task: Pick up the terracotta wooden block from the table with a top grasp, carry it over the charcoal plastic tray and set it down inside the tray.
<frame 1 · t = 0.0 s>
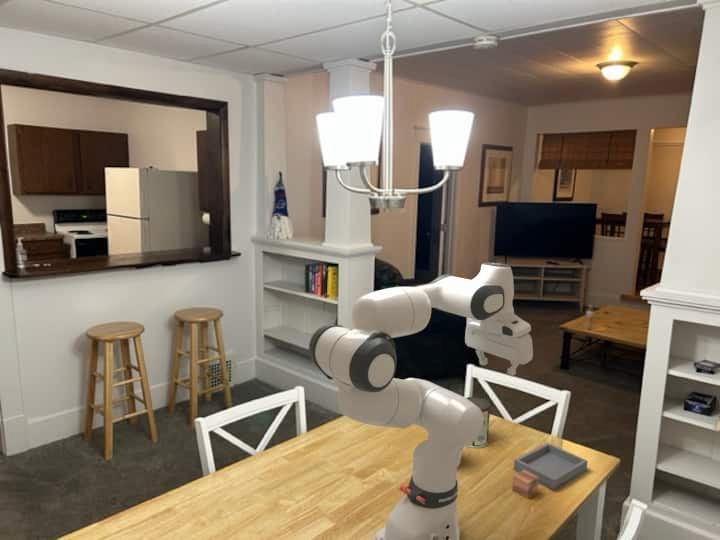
hand: (497, 369, 142), 39 cm above the table, tool pointing down, fingers open, 8 cm apart
coffee can: (473, 441, 181), on the table
foam cup: (449, 463, 167), on the table
tray: (550, 470, 163), on the table
block: (524, 491, 152), on the table
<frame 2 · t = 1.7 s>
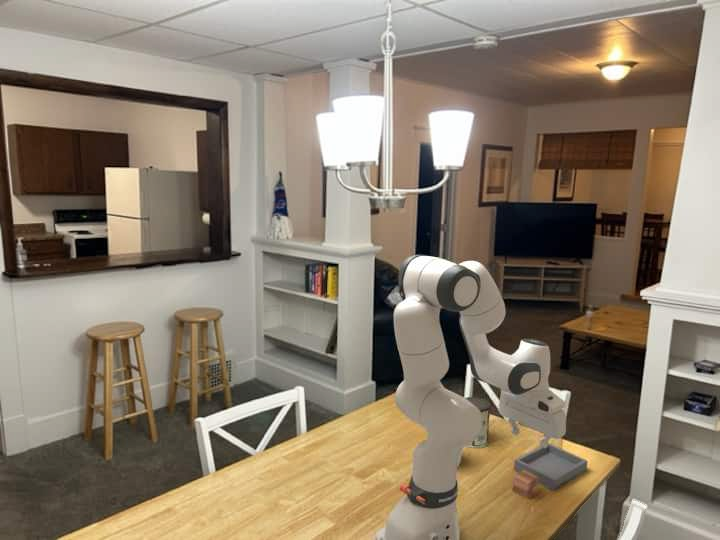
hand: (529, 440, 149), 16 cm above the table, tool pointing down, fingers open, 8 cm apart
nothing on the table moved.
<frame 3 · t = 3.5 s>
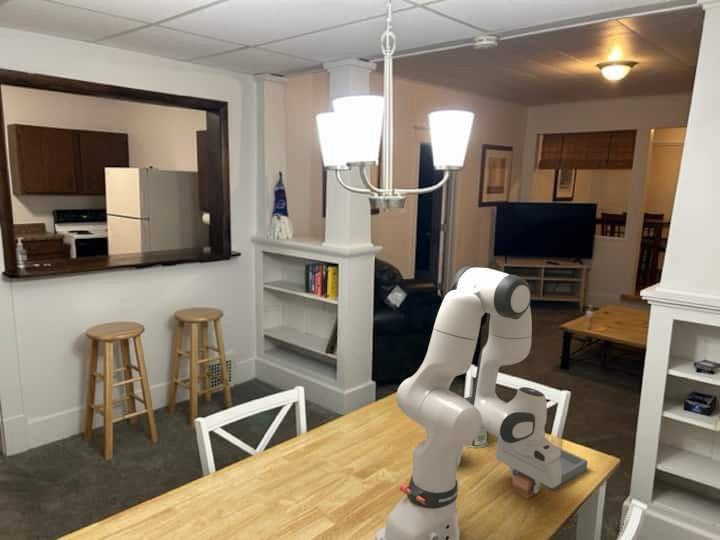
hand: (525, 486, 151), 2 cm above the table, tool pointing down, fingers closed on block, 5 cm apart
block: (524, 491, 152), on the table, touching gripper
everything else where it was.
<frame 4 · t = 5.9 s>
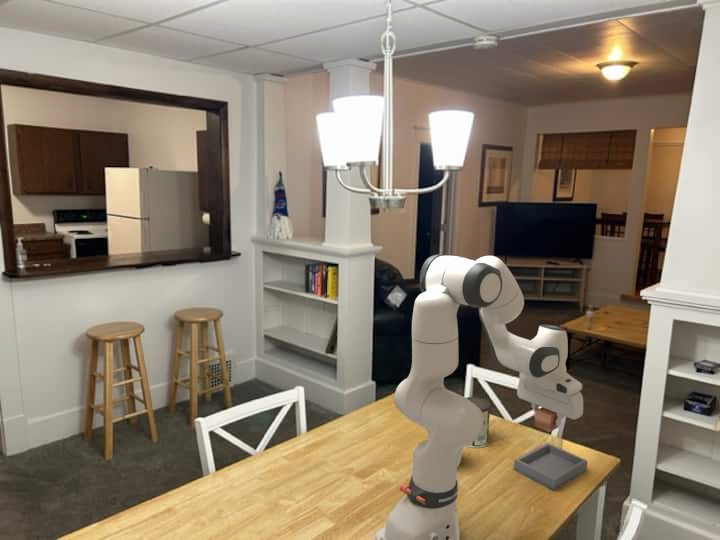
hand: (547, 421, 156), 18 cm above the table, tool pointing down, fingers closed on block, 5 cm apart
block: (547, 426, 156), point 17 cm above the table, touching gripper
everything else where it was.
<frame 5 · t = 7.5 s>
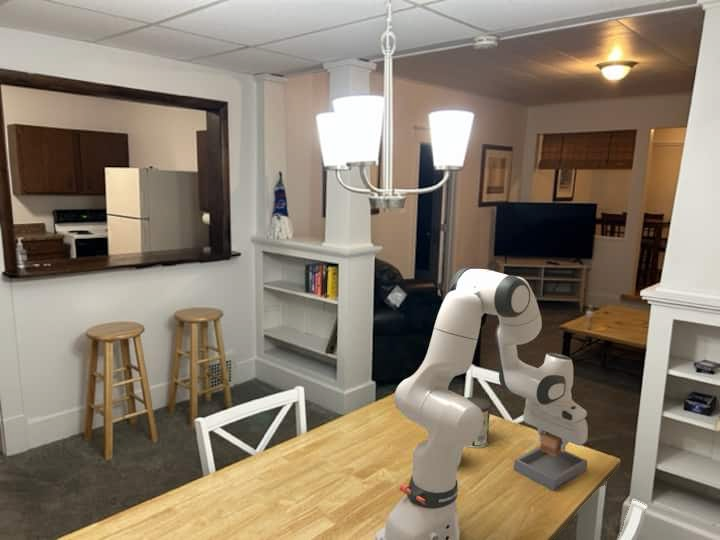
hand: (552, 446, 161), 8 cm above the table, tool pointing down, fingers closed on block, 5 cm apart
block: (551, 450, 162), point 7 cm above the table, touching gripper
everything else where it was.
when the fingers open (5 cm above the table, at t = 8.6 s): block drops 2 cm, resting on tray.
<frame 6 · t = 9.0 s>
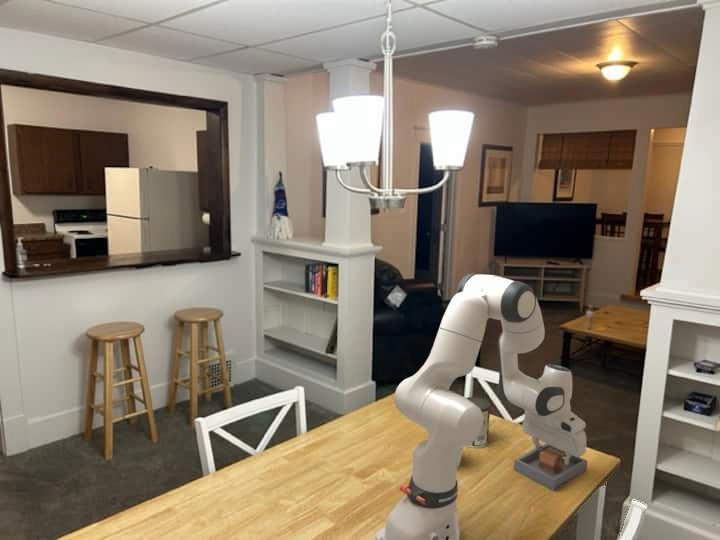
hand: (551, 457, 162), 5 cm above the table, tool pointing down, fingers open, 8 cm apart
block: (550, 467, 163), point 1 cm above the table, touching tray
everything else where it was.
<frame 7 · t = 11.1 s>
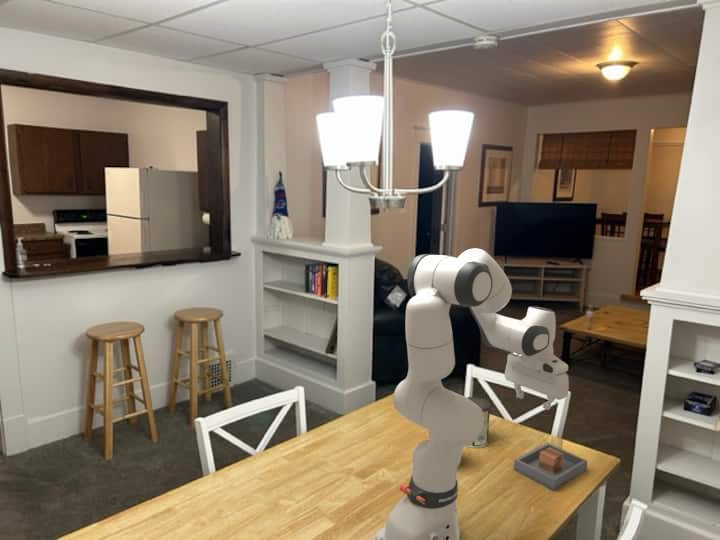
hand: (533, 403, 158), 23 cm above the table, tool pointing down, fingers open, 8 cm apart
nothing on the table moved.
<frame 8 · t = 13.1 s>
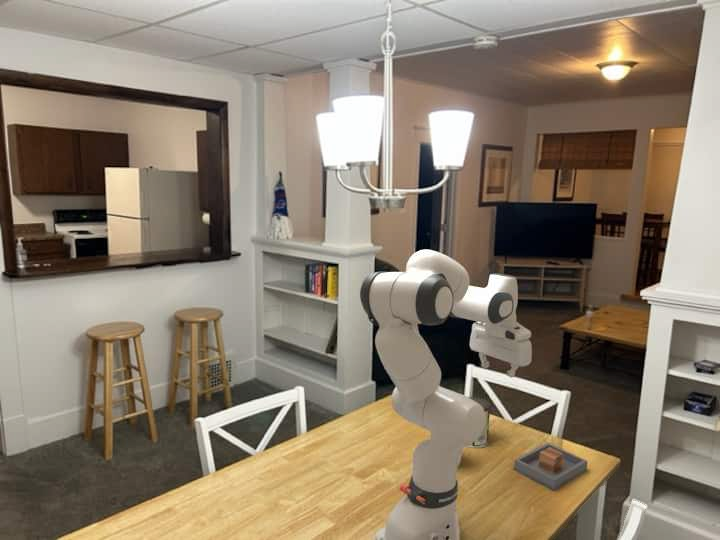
hand: (497, 371, 155), 33 cm above the table, tool pointing down, fingers open, 8 cm apart
nothing on the table moved.
at the end: block inside the target area on the tray (0.0 cm from its centre), point 1.0 cm above the tray's base; the gripper is holding nothing; block tilted 0° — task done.
